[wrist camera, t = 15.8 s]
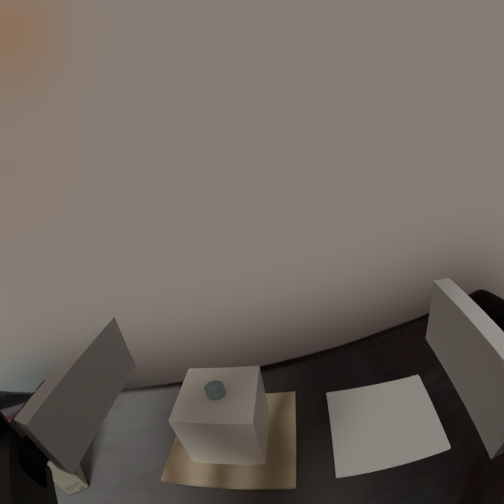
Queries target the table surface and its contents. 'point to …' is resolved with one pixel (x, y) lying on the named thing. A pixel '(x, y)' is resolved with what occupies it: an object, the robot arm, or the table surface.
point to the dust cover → (223, 415)
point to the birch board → (246, 476)
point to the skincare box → (69, 479)
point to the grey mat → (383, 426)
